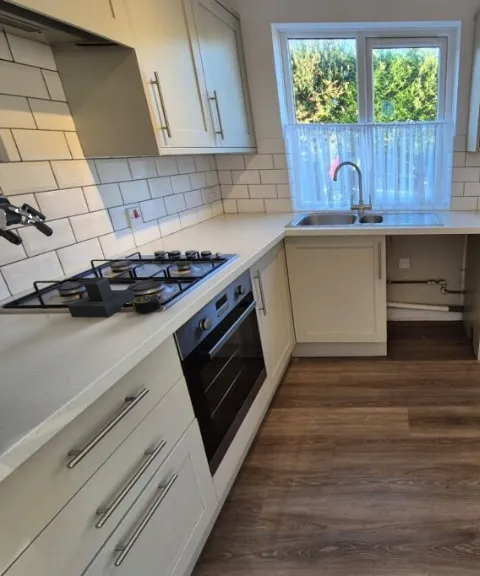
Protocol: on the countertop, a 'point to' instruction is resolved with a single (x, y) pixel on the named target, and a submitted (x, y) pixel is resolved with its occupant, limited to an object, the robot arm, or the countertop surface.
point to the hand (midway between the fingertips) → (36, 238)
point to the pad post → (98, 289)
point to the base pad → (101, 305)
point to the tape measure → (146, 303)
